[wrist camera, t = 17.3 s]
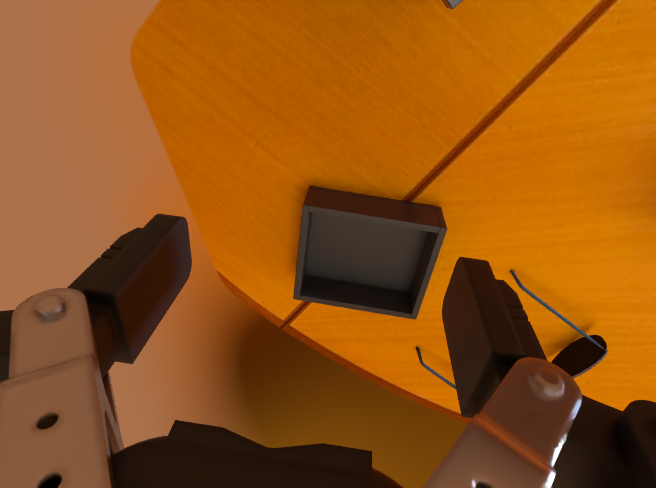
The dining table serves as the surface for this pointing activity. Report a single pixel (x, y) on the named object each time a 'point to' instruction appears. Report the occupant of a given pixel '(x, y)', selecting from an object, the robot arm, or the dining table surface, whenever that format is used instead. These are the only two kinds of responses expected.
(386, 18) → the dining table surface
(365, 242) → the bin
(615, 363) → the dining table surface
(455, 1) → the tray
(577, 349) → the sunglasses
